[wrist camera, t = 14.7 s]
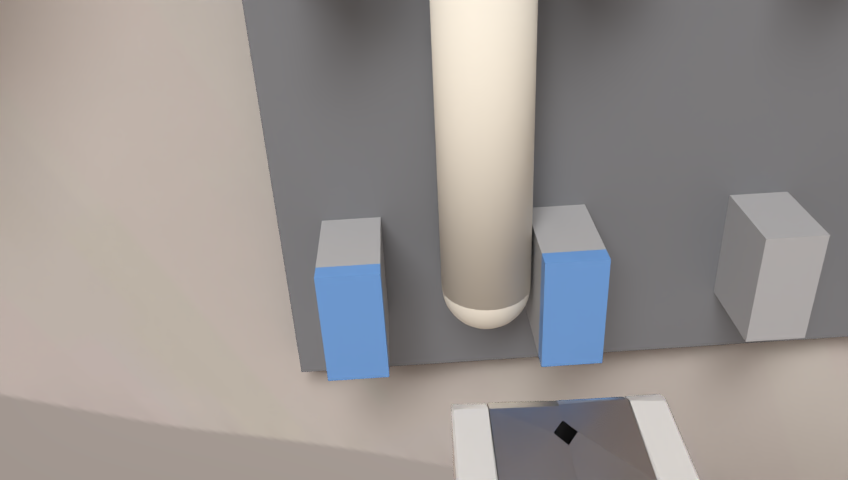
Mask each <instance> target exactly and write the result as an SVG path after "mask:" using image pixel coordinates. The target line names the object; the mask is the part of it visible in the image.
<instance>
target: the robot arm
mask: <svg viewBox="0 0 848 480" xmlns="http://www.w3.org/2000/svg"><path fill="white" fill-rule="evenodd" d="M451 420H452V450H453V477H454V480H700V478H699V476H698V474H697V471H696V469H695V467H694V464H693V462H692V460H691V457H690V455H689V452H688V450H687V448H686V445H685V443H684V441H683V438H682V436H681V434H680V431H679V429H678V427H677V424H676V422H675V419H674V417H673V415H672V412H671V410H670V408H669V405H668V403H667V401H666V398H664V397H663V396H662V395H661V394H653V395H637V396H626V397H625V398H624V397H611V398H594V399H576V400H559V401H533V402H495V403H487V405H486V404H452V407H451Z"/></svg>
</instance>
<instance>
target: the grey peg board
mask: <svg viewBox="0 0 848 480" xmlns="http://www.w3.org/2000/svg"><path fill="white" fill-rule="evenodd" d="M242 3H243V9H244V16H245V22H246V28H247V34H248V41H249V47H250V53H251V59H252V66H253V72H254V78H255V84H256V91H257V97H258V103H259V109H260V115H261V122H262V128H263V134H264V140H265V147H266V153H267V159H268V165H269V172H270V178H271V184H272V190H273V197H274V203H275V209H276V215H277V222H278V228H279V234H280V240H281V247H282V253H283V259H284V265H285V271H286V278H287V284H288V290H289V296H290V303H291V309H292V315H293V321H294V328H295V334H296V340H297V346H298V353H299V359H300V365H301V371H302V372H311V371H326V370H327V376H328V381H333V380H349V379H364V378H379V377H389V366H402V365H418V364H433V363H448V362H464V361H479V360H494V359H510V358H525V357H539V359H540V363H541V367H547V366H562V365H577V364H593V363H602V359H603V352H617V351H632V350H647V349H662V348H678V347H693V346H708V345H724V344H739V343H754V342H770V341H785V340H800V339H815V338H831V337H846V336H848V0H538V21H537V59H536V98H535V137H534V176H533V215H532V254H531V288H530V294H529V298H528V301H527V303H526V306H525V307H524V309H523V310H522V312H521V313H520V314H519V315H518V316H517V317H516V318H515V319H514V320H512V321H511V322H510V323H508V324H506V325H504V326H501V327H498V328H494V329H479V328H475V327H471V326H469V325H466V324H465V323H463V322H462V321H460V320H459V319H458V318H456V317H455V316H454V315H453V313H452V312H451V311H450V309H449V308H448V306H447V305H446V302H445V300H444V297H443V292H442V283H441V259H440V236H439V212H438V188H437V165H436V141H435V118H434V94H433V71H432V47H431V24H430V0H242Z"/></svg>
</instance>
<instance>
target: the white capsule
mask: <svg viewBox="0 0 848 480" xmlns="http://www.w3.org/2000/svg"><path fill="white" fill-rule="evenodd" d="M537 21H538V0H430V24H431V47H432V71H433V94H434V118H435V141H436V165H437V188H438V212H439V236H440V259H441V283H442V292H443V297H444V300H445V302H446V305H447V306H448V308H449V309H450V311H451V312H452V313H453V315H454V316H455V317H456V318H458V319H459V320H460V321H462V322H463V323H465V324H466V325H469V326H471V327H475V328H479V329H494V328H498V327H501V326H504V325H506V324H508V323H510V322H511V321H512V320H514V319H515V318H516V317H517V316H518V315H519V314H520V313H521V312H522V310H523V309H524V307H525V306H526V303H527V301H528V298H529V294H530V288H531V254H532V215H533V176H534V137H535V98H536V59H537Z"/></svg>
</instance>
